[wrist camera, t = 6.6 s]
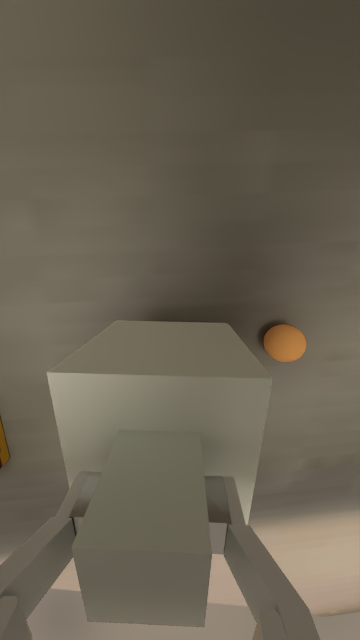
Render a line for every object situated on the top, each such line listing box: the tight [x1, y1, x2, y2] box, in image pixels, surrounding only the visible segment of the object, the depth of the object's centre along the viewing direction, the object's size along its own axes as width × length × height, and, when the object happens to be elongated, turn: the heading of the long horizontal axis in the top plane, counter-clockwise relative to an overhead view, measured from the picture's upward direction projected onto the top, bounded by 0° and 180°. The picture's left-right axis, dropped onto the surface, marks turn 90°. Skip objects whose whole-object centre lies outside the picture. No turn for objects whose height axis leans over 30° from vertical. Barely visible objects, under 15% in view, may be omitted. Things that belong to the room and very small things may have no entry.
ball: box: [264, 324, 306, 362], centre depth 25 cm, size 5×5×5 cm
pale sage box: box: [47, 320, 273, 627], centre depth 12 cm, size 10×10×13 cm
